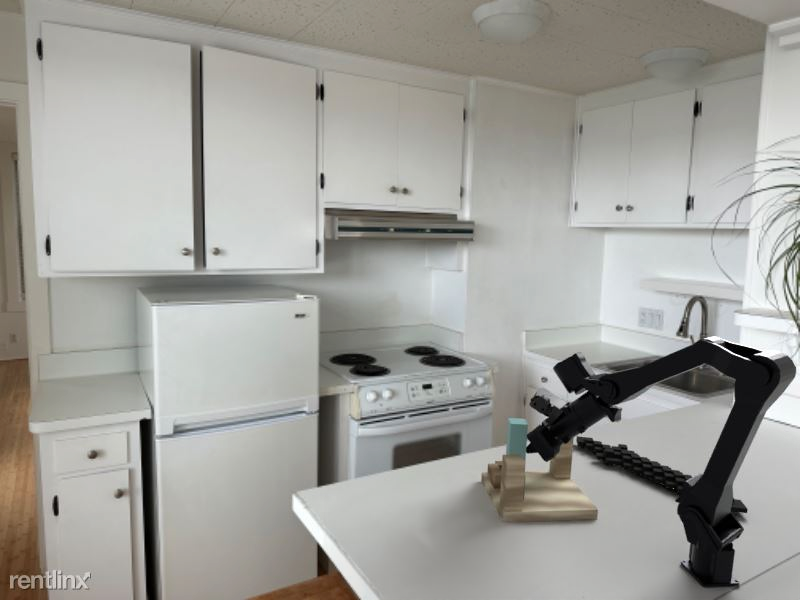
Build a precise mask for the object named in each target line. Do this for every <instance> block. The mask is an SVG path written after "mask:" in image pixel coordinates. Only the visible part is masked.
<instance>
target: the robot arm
mask: <svg viewBox="0 0 800 600" xmlns="http://www.w3.org/2000/svg"><path fill="white" fill-rule="evenodd" d="M704 365H708V366H710V367H712V368H714V369H715V370H716V371H718V372H720V373H721V374H723V375H724V376H727V377H728V378H729V377H730V378H732V379H734V384H733V394H734V397H733V398H734V399H733V400H734V401H733V405H732V408H731V409H730V412H729V414H728V417H727V418H726V421H725V423H724V425H723V427H722V431H721V432H720V435H719V437H718V439H717V442H716V444H715V446H714V448H713V450H712V452H711V456H710V457H709V460H708V462H707V463H706V466H705V468H704V471H703V473H701V472H700V473H698V474H695V475H694V476H692V478H690V479H688V480H687V481H685V482H684V484H683V486H682V491H681V493H680V495H679V496H678V497H677V498H676V499H675V501H674V502H675V503H678V504H677V508H676V513H677V516H678V517H679V519H680V521H681V522H682V524H683V525H682V526H683V529H684V530H683V531H684V533H685V536H686V537H685V538H686V541H687V542H688V543H690V544H689V554H688V559H681V560H680V564H681V567H683V568H684V569H686V571H687V572H689V574H690V575H691V576H692V577H693V578H694V579H695V580H696V581H697V582H698V583H699V584H700V585H701V586H703V587H704V588H705V587H706V588H708V587H709V588H711V587H727V586H728V587H729V586H730V587H731V586H733V587H734V586H740V583H741V582H740V580H739V579H738V578H736V576H734V575H733V571H734V570H733V569H734V563H735V562H734V561H735V554H736V550H735V549H734V543H733V542H734V541H736V540H737V539H739V538H740V537H741V535H742V534H743V532H744V531H745V528H744V527H743V525H742V524H741V522H740V521H739V520H738V518H737V517H736V516H735V514H734V512H732V511H731V506H732V501H733V498H734V489H733V487H734V482H735V480H736V478H737V476H738V473H739V471H740V469H741V467H742V465H743V463H744V460H745V458H746V456H747V454H748V452H749V450H750V447H751V445H752V444H753V441H754V439H755V437H756V434H757V433H758V430H759V428H760V426H761V424H762V422H763V419H764V418H765V415H766V414H767V411H769V409H770V408H771V406H773V405H774V404H775V402H776V401H777V400H778V399H779V398H780V397H781V396H782V395H783V394H784V392H785V391H786V390H787V388H788V387H790V385H791V383H792V382H793V381H794V380H795V378H796V375H797V366H796V365H795V363H794V361H793V359H792V358H791V357H790V356H789V355H787V354H786V353H784V352H783V351H779V350H774V349H773V350H772V349H771V350H762V349H760V348H757V347H752V346H748V345H744V344H741V343H735V342H732V341H729V340H726V339H723V338H721V337H719V336H710V337H706V338H701V339H698V340H697V341H696V342H694V343H692V344H690V345H688V346H685V347H683V348H681V349H679V350H676V351H674V352H672V353H669V354H666V355H664V356H661V357H660V358H657V359H655V360H652V361H650V362H647V363H646V364H643V365H641V366H638V367H637V366H636V367H632V368H628V369H623V370H618V371H615V372H610V373H609V372H608V373H607V372H601V373H598V374H596V372H595V371H594V369H592V367H591V366H590V364H589V362H588V361H587V359H586V357H585V355H584V354H583V352H581V351H579V352H574V354H572V355H571V356H568V357H566V358H564V359H563V360H561V361H559V362H557V363H556V364H555V365H554V366H553V367H552V370H553V372H554V373H555V374H556V376H557V378H558V379H559V381H560V382H561V384H562V385H563V386H564V389H565V390H566V392H567V393H568V394H573V393H574V395H576V396H577V395H580V394H582V395H580V396H579V397H578V398H576V399H575V400H569V401H568V402H564V401H563V400H562V399H561V398H560V397H558V395H556V394H554V393H553V392H551V391H550V390H548V389H547V388H545V387H540V389H538V390H536V391H535V393H534V395H533V396H532V397H531V398H530V401H529V404H528V405H529V406H530V407H531V408H532V409H533V410H535V411H536V412H538V413H540V414H542V415H543V416H544V417H547V418H545V419H543V421H542V422H541V423H539V424H538V425H536V427H534V428H533V429H532V430H531V431H529V432H527V441H529V444H528V445H526V454H538V455H539V456H540V458H541V459H542V461H544V462H546V463H548V462H550V460H551V459H553V458H554V457H555V456H556V455H557V454H558V453H559V452H560V446H562V445H563V443H564V444H567V443H568V442H569V441H570V440H571V439H572V438H575V437H577V436H578V435H583V433H585V432H586V431H587V430H589V428H590V427H592V426H593V425H595V424H597V423H598V422H599V421H601V420H603V419H604V418H606V417H608V419H609V420H610V422H611V423H615V422H619V421H621V420H622V411H623V407H622V406H617V405H621V404H624V403H626V402H630V401H633V400H635V399H637V398H638V397H640V396H641V395H644V393H647V391H649V390H650V389H651V388H652V387H654V386H655V385H657V384H658V383H661V382H664V381H667V380H669V379H671V378H674V377H676V376H679V375H681V374H684V373H687V372H690V371H692V370H694V369H697V368H699V367H702V366H704ZM584 392H585V393H584Z"/></svg>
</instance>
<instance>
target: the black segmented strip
mask: <svg viewBox="0 0 800 600" xmlns="http://www.w3.org/2000/svg"><path fill="white" fill-rule="evenodd" d="M576 445H577V447H581V448H584V449H585V450H586V451H592V452H593V454H594V455H595V456H596V457H595V458H596V460H598V461H603V463H604V465H605V466H611V465H612V466H620V467H621V468H622V470H625V471H626V470H627V471H628V470H629V471H631V473H632V474H633V475H640V474H641V475H640V476H641V477H642V479H647V480H651V479H652V480H653V481H652V480H651V481H652V483H653V482H654V484H659V483H662V484H663V487H667V488H666V489H671V488H674V492H675V493H676V494H681V491H682V486H683V484H684V482H685V481H687V480H688V479H690V478H692V477H693V476H692V475H690V474H685V473H683V472H682V471H680V470H677V469H672V467H669V466H668V465H663V464H662V465H661V463H660V462H658V461H654V460H651V459H650V458H648V457H646V456H640V454H638V453H637V452H635V451H634V450H630V449H628V448H629V447H628V445H627V444H623V443H618V445H617V446H616V445H615V446H614V445H609V444H604V443H603V442H602V441H600V440H594V438H593V437H587V436H586V437H585V436H578V435H577V436H576ZM662 484H661V485H662ZM731 511H732V513H734V512H735V513H740V514H748V508H747V506H746V505H745V504H744V502H743V501H742V500H741V499H736V498H735V497H733V501H732V506H731Z"/></svg>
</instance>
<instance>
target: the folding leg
mask: <svg viewBox="0 0 800 600" xmlns="http://www.w3.org/2000/svg"><path fill="white" fill-rule="evenodd" d="M528 427H529V425H528V422H527V420H526V419H525V418H517V417H515V418H514V417H508V418H507V434H506V445H505V446H506V447H505V448H506V450H505V455H521V457H522V458H523V459H524V461H525V462H526V460H527V459H526V457H527V453H526V447H527V446H528V445H527V443H528V439H527V434H528V431H529V430H528Z"/></svg>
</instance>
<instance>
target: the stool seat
mask: <svg viewBox="0 0 800 600" xmlns="http://www.w3.org/2000/svg"><path fill="white" fill-rule="evenodd" d="M574 438H575V437H574ZM574 438H572V439H571V440H570V441H569V442H568V443H567V444H564V443H563V445H562V446H560V452H559V453H558V454H557V455H556V456H555V457H554V458H553V459H551V460H549V469H548V470H544V471H543V470H541V471H538V470H537V471H526V465H527V463H526V460H525V461H524V459H523V458H522V457H521V455H506V454H502V456H501V457H502V458H501V460H495V462H494V463H487V471H486V472H485V471H484V472H481V478H480V479H481V480H480V481H481V484H482V485H483V487H484V489H485V491H486V493H487V494H488V496H489V497H490V500H491V502H492V504H493V505H494V507H495V509H496V510H497V513H498V515H499V516H500V518H501V520H502V522H503V523H506V522H507V523H509V522H510V523H513V521H517V522H544V520H551V521H574V520H575V521H576V520H577V521H578V520H598V516H599V515H598V514H599V509H598V508H597V506H596V505H595V504H594V503H593V502H592V501H591V499H589V498H588V497H587V495H586V494H585V493H584V492H583V491H582V490H581V489H580V488H579V486H578V485H577V484H576V482H574V481H573V479H572V478H571V476H572V475H571V474H572V463H573V451H574V440H575V439H574ZM539 520H540V521H539ZM541 520H542V521H541Z"/></svg>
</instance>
